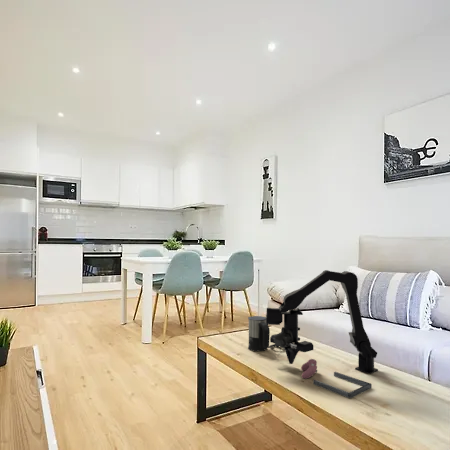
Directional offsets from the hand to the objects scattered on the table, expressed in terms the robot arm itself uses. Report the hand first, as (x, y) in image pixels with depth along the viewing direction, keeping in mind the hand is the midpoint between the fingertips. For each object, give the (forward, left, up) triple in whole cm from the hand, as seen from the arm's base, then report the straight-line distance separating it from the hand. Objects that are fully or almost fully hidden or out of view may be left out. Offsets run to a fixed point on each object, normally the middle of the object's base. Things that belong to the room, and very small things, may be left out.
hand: (291, 363), depth 142 cm
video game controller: (+1, +9, -2) cm, 10 cm away
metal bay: (0, +23, -2) cm, 23 cm away
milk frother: (-10, -25, -2) cm, 27 cm away
